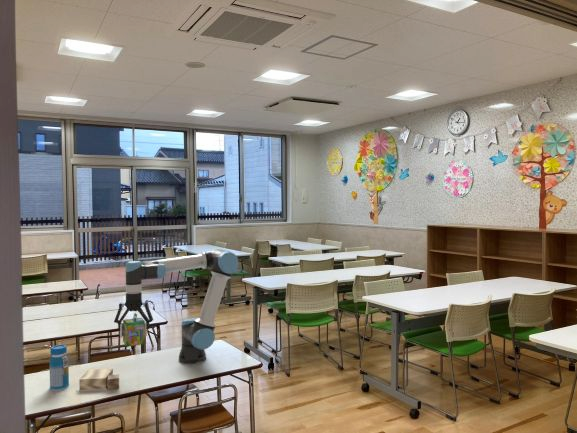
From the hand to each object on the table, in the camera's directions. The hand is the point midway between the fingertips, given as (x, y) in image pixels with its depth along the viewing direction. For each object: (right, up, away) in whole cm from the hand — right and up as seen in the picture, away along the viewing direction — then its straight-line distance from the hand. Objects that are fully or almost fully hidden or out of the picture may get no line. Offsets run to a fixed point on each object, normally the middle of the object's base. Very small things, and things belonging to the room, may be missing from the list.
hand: (133, 336), depth 220 cm
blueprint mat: (-14, -23, -2) cm, 27 cm away
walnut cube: (-7, -22, -8) cm, 25 cm away
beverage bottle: (-33, -23, -8) cm, 41 cm away
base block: (-17, -22, -5) cm, 28 cm away
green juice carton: (0, -4, 0) cm, 4 cm away
